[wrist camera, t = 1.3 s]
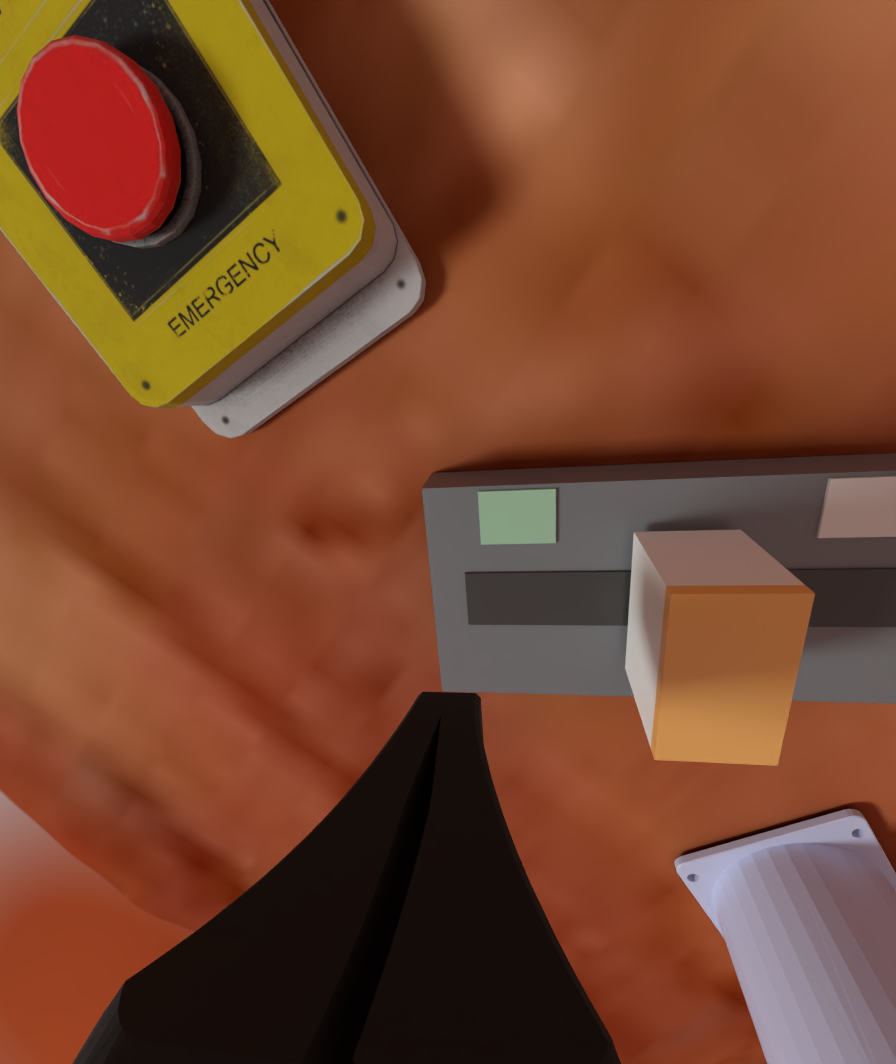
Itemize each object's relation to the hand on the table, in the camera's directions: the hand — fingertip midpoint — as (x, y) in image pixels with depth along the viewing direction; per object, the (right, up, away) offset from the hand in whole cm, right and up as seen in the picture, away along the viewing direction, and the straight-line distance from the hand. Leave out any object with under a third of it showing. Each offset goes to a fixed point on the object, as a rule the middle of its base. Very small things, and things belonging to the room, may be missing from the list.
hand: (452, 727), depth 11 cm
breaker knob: (+7, +2, +4) cm, 9 cm away
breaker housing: (+8, +3, +6) cm, 10 cm away
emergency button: (-8, +16, +4) cm, 18 cm away
